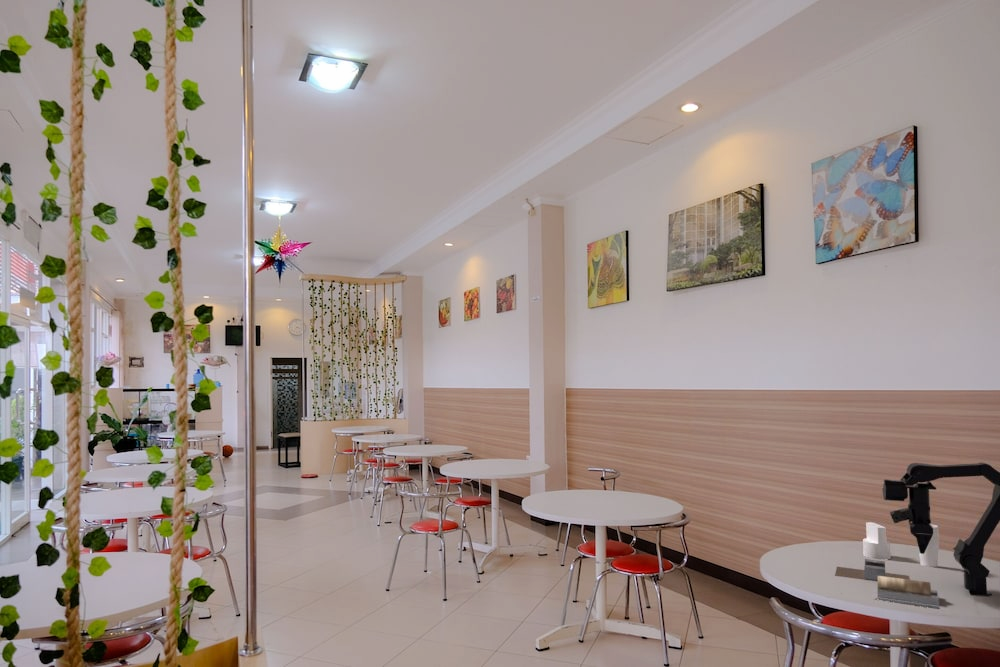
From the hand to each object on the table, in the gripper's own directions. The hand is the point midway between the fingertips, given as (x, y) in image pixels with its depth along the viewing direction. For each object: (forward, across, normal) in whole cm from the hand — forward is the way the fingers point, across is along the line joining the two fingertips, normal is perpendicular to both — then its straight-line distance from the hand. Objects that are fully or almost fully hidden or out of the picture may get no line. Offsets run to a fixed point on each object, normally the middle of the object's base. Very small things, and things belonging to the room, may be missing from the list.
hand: (921, 550), depth 219 cm
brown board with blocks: (+12, -2, -14) cm, 18 cm away
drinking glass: (+12, -27, +3) cm, 30 cm away
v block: (+12, +17, -5) cm, 21 cm away
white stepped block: (+12, -34, -13) cm, 38 cm away
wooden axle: (+10, +17, -6) cm, 20 cm away
